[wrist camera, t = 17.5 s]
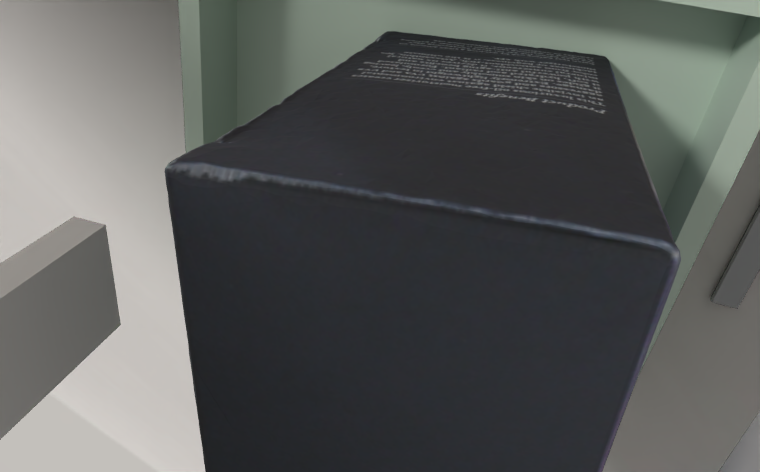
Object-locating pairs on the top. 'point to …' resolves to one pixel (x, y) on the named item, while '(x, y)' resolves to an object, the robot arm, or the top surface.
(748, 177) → the top surface
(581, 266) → the small box
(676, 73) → the green footed tray
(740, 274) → the strip
